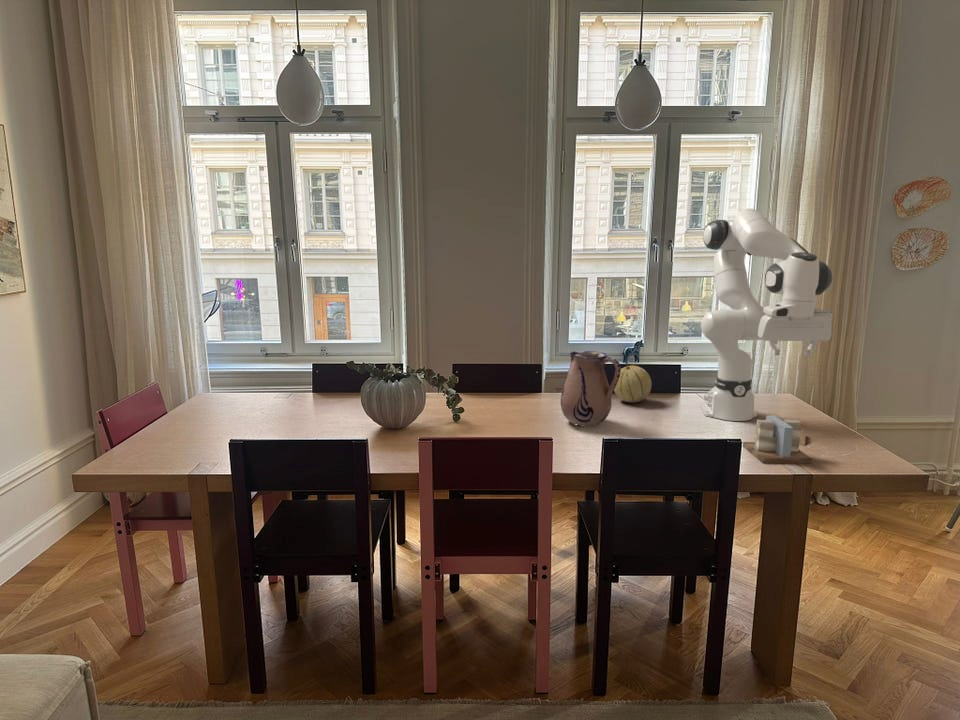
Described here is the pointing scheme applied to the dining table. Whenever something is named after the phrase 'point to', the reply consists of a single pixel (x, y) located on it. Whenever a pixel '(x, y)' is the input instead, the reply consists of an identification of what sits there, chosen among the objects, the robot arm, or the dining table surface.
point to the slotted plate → (782, 436)
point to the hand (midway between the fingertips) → (791, 355)
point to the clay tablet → (802, 438)
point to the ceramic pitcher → (588, 388)
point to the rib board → (775, 456)
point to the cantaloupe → (633, 384)
